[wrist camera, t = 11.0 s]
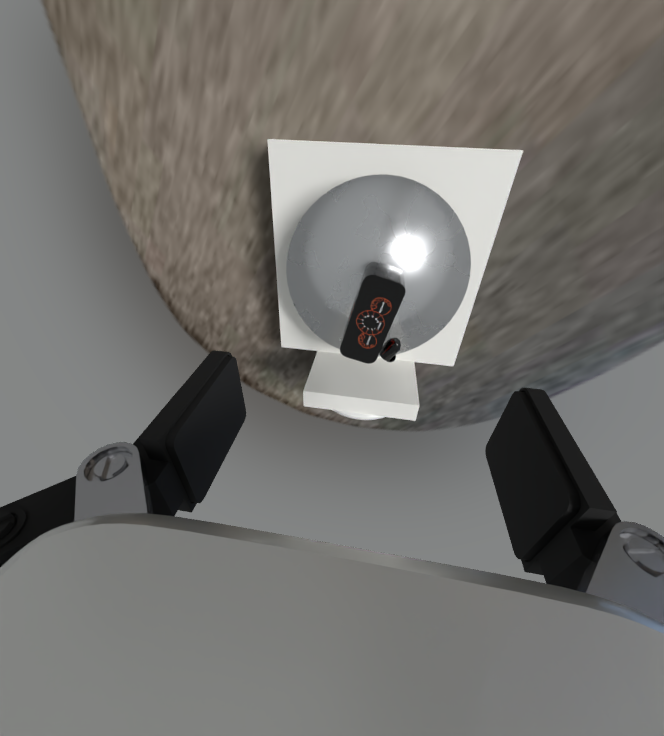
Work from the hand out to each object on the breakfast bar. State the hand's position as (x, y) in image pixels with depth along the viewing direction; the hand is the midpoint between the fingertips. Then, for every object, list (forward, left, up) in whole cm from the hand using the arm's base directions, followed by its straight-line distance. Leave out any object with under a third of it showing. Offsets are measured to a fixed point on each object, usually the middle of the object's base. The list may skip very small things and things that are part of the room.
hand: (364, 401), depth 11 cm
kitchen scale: (+2, 0, -19) cm, 19 cm away
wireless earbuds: (+3, 0, -14) cm, 14 cm away
